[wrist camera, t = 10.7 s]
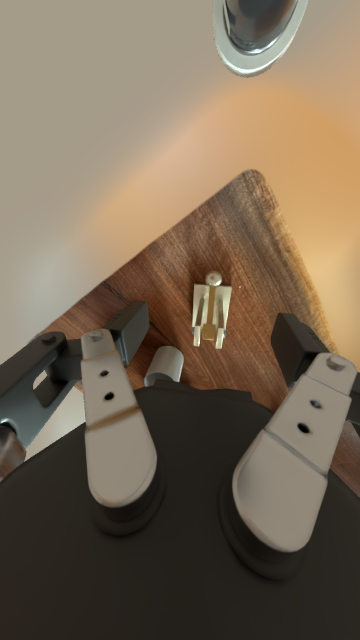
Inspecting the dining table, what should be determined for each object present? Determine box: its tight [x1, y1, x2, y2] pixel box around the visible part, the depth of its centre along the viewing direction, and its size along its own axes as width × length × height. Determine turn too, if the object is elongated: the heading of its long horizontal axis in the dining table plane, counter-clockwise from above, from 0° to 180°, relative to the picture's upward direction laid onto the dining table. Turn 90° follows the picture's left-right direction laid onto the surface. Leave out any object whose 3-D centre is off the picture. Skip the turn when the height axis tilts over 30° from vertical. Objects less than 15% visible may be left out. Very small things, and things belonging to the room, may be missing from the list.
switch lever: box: [202, 271, 222, 340], centre depth 35 cm, size 13×3×3 cm
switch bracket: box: [192, 283, 232, 349], centre depth 39 cm, size 11×8×13 cm
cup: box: [144, 346, 183, 387], centre depth 50 cm, size 8×8×10 cm
